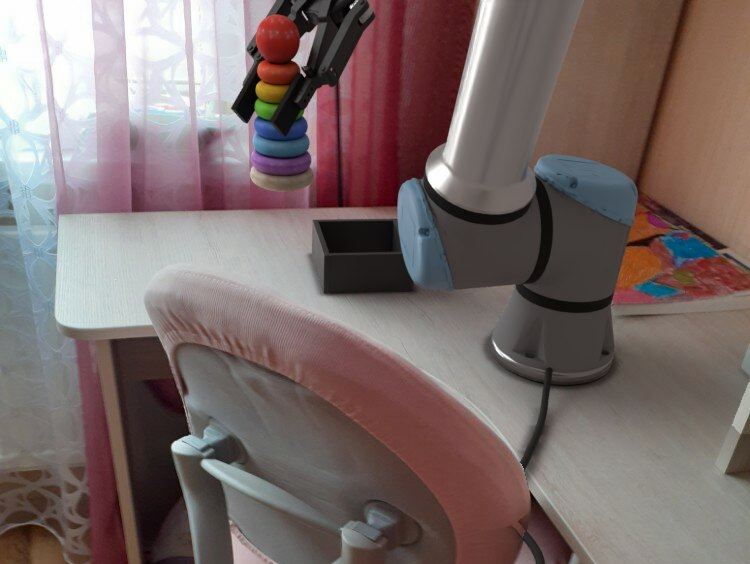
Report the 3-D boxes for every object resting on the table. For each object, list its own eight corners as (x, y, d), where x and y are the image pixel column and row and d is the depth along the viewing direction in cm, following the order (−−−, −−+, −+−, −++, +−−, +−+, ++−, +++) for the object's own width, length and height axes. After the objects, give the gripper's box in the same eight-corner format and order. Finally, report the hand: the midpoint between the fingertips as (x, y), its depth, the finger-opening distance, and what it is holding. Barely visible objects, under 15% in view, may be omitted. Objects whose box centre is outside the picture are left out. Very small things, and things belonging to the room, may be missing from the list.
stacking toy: (317, 175, 110) (321, 12, 98) (307, 197, 104) (309, 26, 92) (257, 169, 110) (253, 5, 98) (244, 190, 104) (238, 19, 92)
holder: (412, 291, 118) (416, 253, 115) (323, 293, 116) (324, 255, 113) (394, 254, 128) (397, 218, 124) (311, 255, 126) (312, 219, 122)
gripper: (430, -12, 98) (330, 161, 99) (313, -36, 107) (223, 123, 108) (405, -64, 92) (298, 121, 92) (283, -85, 101) (186, 84, 101)
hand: (258, 122), depth 100 cm, fingers closed on stacking toy, 6 cm apart
